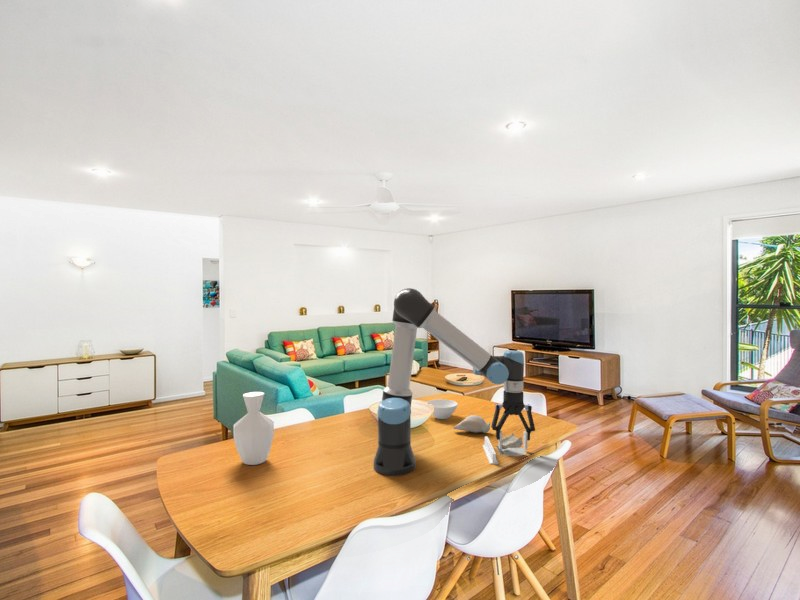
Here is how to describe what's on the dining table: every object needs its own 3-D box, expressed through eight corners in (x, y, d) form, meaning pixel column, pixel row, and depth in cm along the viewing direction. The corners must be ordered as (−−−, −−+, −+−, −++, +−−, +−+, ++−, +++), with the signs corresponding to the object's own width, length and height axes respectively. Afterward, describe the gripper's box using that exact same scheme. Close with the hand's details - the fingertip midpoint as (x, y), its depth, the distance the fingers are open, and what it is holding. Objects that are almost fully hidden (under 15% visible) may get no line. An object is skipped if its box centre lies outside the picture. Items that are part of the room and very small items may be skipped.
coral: (522, 446, 148) (516, 435, 149) (500, 453, 154) (494, 442, 155) (528, 440, 152) (522, 429, 153) (506, 447, 158) (500, 436, 159)
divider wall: (490, 464, 143) (490, 453, 143) (482, 446, 161) (482, 436, 161) (498, 464, 143) (498, 453, 143) (489, 446, 161) (489, 436, 161)
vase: (281, 455, 153) (280, 390, 153) (258, 470, 139) (258, 400, 139) (249, 451, 157) (249, 388, 156) (224, 466, 143) (224, 397, 143)
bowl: (441, 410, 212) (441, 397, 212) (464, 417, 200) (464, 403, 200) (419, 416, 202) (419, 402, 202) (442, 424, 190) (442, 409, 189)
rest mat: (502, 458, 149) (502, 457, 149) (496, 446, 161) (496, 445, 161) (534, 458, 148) (534, 458, 148) (526, 446, 160) (526, 446, 160)
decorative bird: (490, 434, 171) (491, 417, 173) (453, 428, 174) (455, 410, 176) (488, 435, 179) (490, 418, 181) (453, 429, 182) (455, 412, 184)
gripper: (486, 392, 151) (486, 450, 151) (544, 393, 150) (544, 452, 150) (483, 387, 159) (483, 443, 159) (538, 389, 157) (538, 445, 158)
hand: (512, 448), depth 154 cm, fingers open, 9 cm apart
